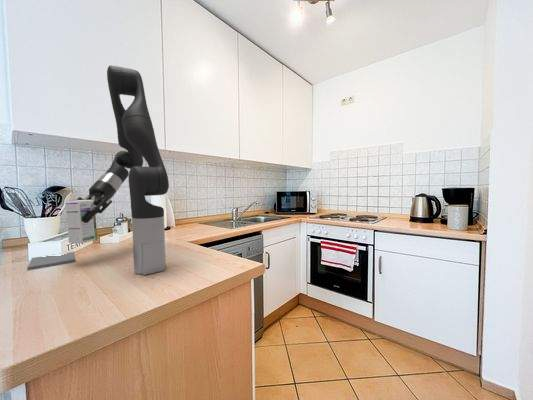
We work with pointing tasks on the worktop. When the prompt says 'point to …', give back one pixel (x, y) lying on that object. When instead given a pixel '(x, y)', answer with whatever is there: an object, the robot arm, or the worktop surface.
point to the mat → (51, 261)
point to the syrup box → (80, 222)
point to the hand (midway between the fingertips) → (76, 221)
